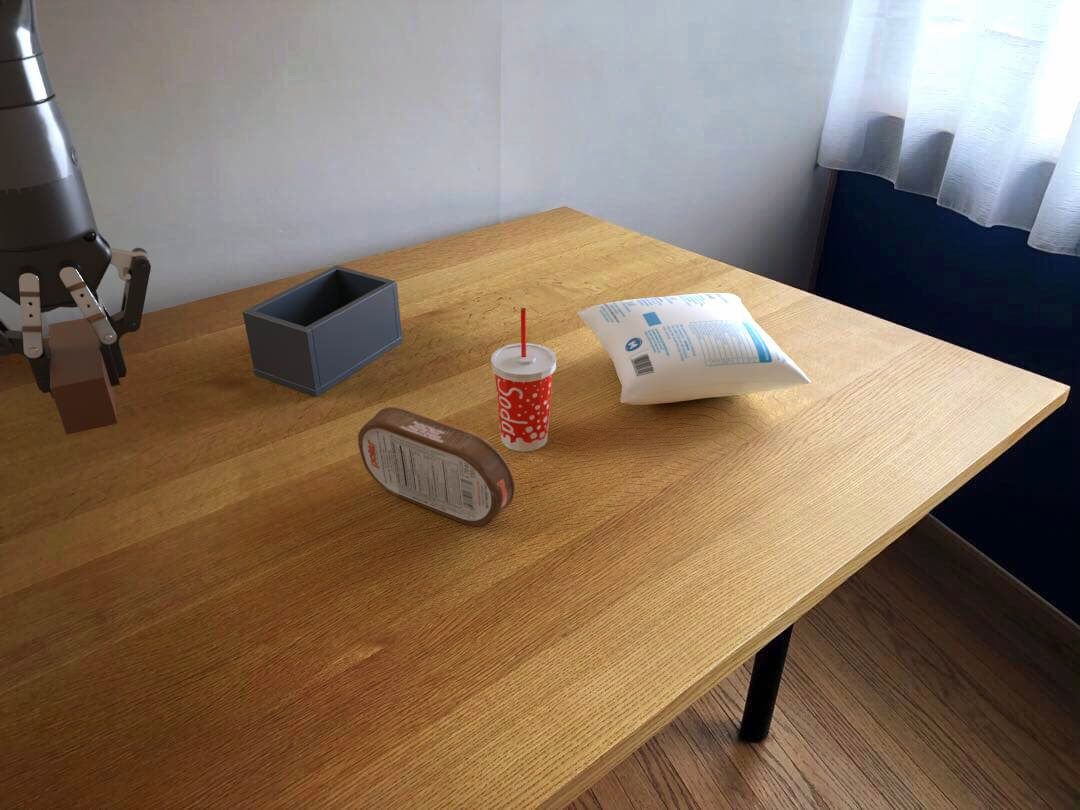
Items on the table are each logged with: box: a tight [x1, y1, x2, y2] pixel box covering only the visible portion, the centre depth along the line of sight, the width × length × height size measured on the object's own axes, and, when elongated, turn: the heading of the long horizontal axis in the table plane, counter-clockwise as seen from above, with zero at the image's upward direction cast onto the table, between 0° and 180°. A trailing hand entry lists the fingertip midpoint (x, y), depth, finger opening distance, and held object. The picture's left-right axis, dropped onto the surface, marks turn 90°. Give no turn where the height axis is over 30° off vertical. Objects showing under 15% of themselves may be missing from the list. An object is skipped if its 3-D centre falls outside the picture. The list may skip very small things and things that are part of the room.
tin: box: [357, 406, 516, 527], centre depth 73 cm, size 15×3×8 cm, turn 59°
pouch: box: [576, 292, 812, 406], centre depth 93 cm, size 8×19×20 cm
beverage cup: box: [490, 307, 557, 452], centre depth 81 cm, size 6×6×14 cm
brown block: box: [47, 317, 119, 435], centre depth 66 cm, size 11×4×4 cm, turn 27°
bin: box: [242, 265, 403, 398], centre depth 96 cm, size 15×9×8 cm, turn 149°
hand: (86, 386), depth 67 cm, fingers closed on brown block, 3 cm apart
